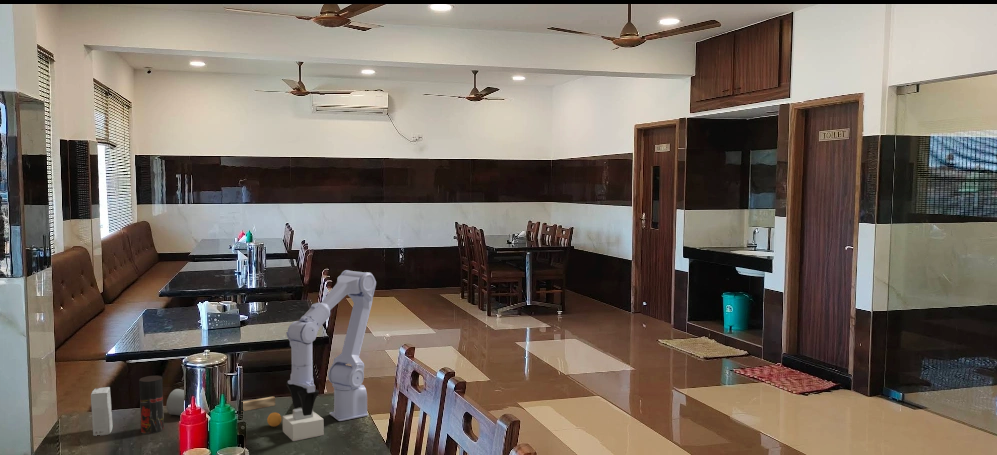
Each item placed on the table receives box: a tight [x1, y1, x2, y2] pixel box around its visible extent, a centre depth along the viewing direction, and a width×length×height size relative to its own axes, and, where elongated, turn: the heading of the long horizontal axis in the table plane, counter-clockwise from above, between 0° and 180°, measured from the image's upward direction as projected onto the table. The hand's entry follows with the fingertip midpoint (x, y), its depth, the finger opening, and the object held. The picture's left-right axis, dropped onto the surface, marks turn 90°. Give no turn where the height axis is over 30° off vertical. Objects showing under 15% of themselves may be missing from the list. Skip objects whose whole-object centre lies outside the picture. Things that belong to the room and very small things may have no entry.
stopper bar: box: [242, 396, 276, 412], centre depth 231 cm, size 12×2×2 cm, turn 124°
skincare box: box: [90, 386, 114, 437], centre depth 209 cm, size 6×4×12 cm
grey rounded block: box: [165, 388, 185, 416], centre depth 225 cm, size 11×8×8 cm
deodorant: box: [138, 375, 165, 435], centre depth 211 cm, size 6×6×15 cm
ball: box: [266, 412, 283, 428], centre depth 215 cm, size 4×4×4 cm
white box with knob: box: [282, 407, 325, 442], centre depth 209 cm, size 9×9×7 cm
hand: (302, 411), depth 209 cm, fingers open, 7 cm apart
